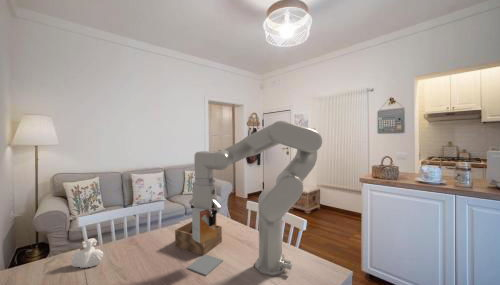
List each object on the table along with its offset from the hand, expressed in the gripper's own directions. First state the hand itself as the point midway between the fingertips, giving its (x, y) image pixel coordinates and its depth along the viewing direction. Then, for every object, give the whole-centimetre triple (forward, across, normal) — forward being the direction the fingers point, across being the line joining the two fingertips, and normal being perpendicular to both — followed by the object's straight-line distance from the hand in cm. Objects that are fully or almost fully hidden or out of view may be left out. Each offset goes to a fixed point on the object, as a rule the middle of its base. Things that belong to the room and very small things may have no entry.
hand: (204, 222), depth 89 cm
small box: (+7, 0, 0) cm, 7 cm away
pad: (+18, 0, 0) cm, 18 cm away
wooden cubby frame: (+18, +14, -12) cm, 26 cm away
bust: (+18, +44, +23) cm, 53 cm away
